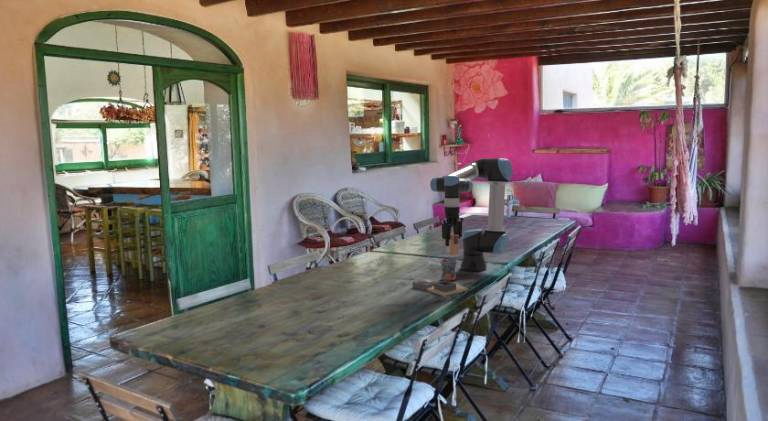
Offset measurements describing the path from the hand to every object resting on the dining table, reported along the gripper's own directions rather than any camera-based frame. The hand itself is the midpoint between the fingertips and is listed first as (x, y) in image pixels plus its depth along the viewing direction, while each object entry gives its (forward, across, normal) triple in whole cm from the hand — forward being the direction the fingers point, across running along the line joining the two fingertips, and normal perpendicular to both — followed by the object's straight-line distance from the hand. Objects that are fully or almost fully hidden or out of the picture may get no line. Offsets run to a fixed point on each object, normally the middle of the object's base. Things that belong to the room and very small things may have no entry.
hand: (452, 251), depth 291 cm
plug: (+1, 0, 0) cm, 1 cm away
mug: (+20, -13, -16) cm, 29 cm away
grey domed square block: (+20, +7, -13) cm, 24 cm away
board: (+20, +3, -2) cm, 20 cm away
